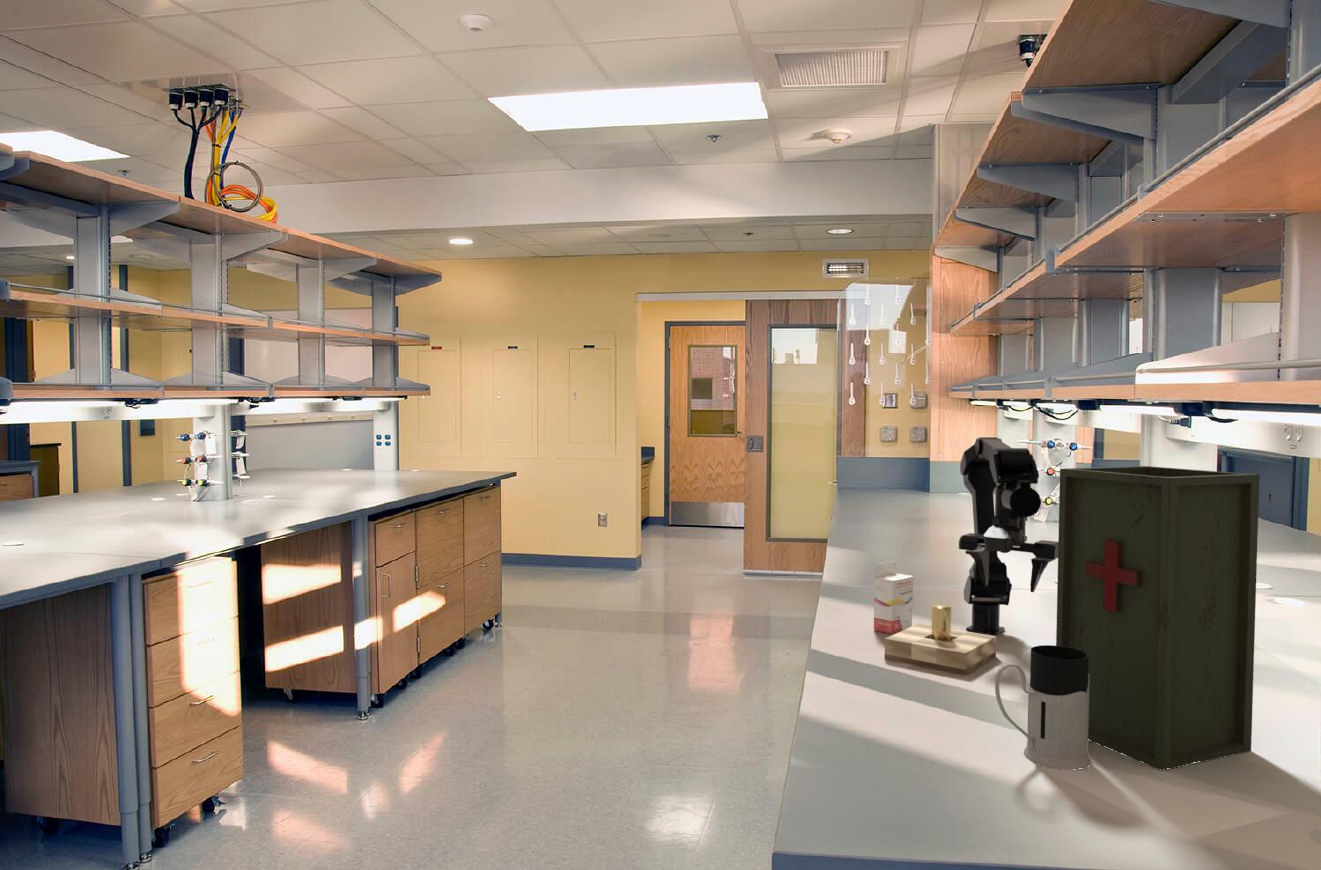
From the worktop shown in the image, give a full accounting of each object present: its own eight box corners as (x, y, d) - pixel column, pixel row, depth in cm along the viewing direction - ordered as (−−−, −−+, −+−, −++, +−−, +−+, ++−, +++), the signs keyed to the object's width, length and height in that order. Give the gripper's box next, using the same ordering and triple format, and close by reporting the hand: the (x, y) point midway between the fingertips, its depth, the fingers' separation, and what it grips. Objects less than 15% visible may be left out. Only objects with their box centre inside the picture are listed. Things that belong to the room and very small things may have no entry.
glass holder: (1105, 767, 125) (1108, 659, 124) (1012, 775, 122) (1015, 664, 121) (1064, 743, 133) (1066, 642, 133) (977, 750, 130) (978, 647, 130)
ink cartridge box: (892, 634, 196) (893, 566, 195) (872, 630, 199) (873, 563, 199) (913, 627, 202) (914, 562, 201) (893, 623, 205) (894, 559, 205)
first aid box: (1054, 726, 141) (1059, 468, 139) (1138, 710, 148) (1145, 465, 146) (1161, 770, 124) (1169, 478, 122) (1251, 751, 131) (1259, 474, 129)
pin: (935, 649, 180) (936, 604, 180) (953, 652, 178) (954, 606, 178) (928, 652, 178) (928, 607, 177) (945, 656, 175) (946, 610, 175)
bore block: (918, 642, 189) (919, 623, 189) (995, 656, 179) (996, 636, 179) (884, 658, 177) (884, 638, 177) (965, 674, 167) (965, 653, 167)
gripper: (948, 510, 180) (947, 588, 181) (1046, 518, 168) (1044, 602, 169) (970, 505, 189) (968, 580, 189) (1064, 513, 177) (1062, 592, 177)
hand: (1008, 588), depth 181 cm, fingers open, 9 cm apart
